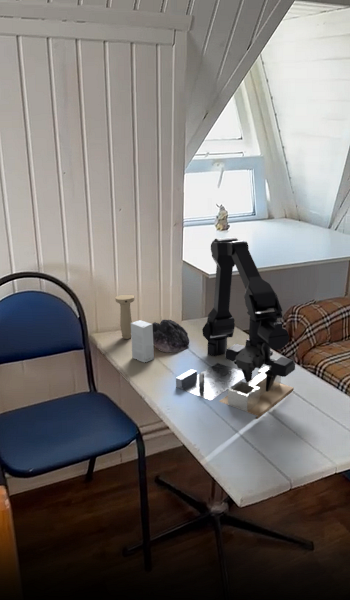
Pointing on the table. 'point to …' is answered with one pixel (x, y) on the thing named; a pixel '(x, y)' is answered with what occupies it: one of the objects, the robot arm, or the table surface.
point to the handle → (125, 314)
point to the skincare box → (142, 341)
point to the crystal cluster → (169, 336)
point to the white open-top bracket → (250, 391)
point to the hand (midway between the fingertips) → (258, 387)
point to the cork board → (267, 399)
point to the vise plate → (209, 381)
